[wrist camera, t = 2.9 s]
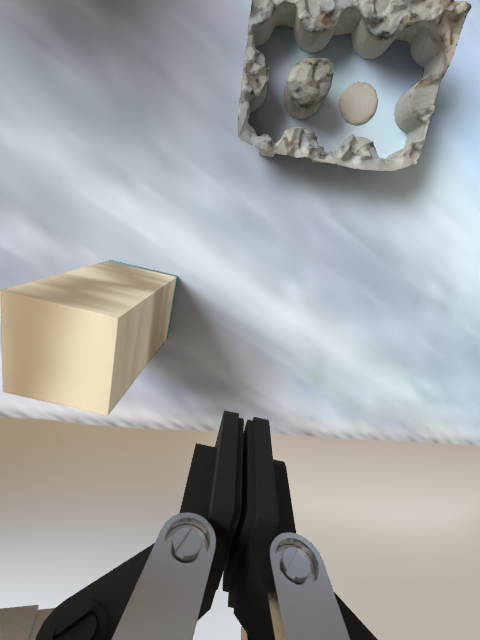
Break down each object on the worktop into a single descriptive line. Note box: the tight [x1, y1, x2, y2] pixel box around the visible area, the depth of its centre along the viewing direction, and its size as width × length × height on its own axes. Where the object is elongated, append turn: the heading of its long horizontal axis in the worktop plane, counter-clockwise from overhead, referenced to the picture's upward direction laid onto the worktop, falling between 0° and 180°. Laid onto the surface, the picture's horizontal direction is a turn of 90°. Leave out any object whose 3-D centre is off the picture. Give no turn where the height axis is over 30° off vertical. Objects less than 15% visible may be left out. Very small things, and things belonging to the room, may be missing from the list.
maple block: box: [0, 260, 178, 416], centre depth 18 cm, size 5×5×10 cm
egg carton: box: [238, 0, 471, 171], centre depth 17 cm, size 11×8×4 cm
